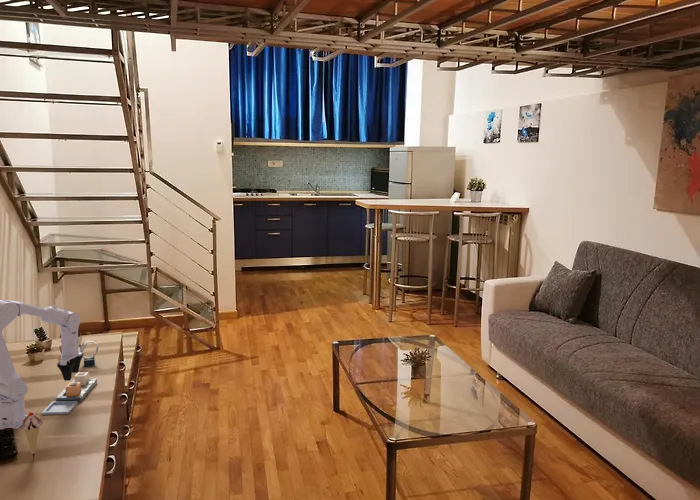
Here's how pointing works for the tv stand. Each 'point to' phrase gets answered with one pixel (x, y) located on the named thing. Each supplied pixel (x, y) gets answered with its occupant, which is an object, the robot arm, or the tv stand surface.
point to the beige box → (82, 378)
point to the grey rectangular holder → (84, 392)
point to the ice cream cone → (32, 429)
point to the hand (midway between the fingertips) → (71, 376)
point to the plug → (73, 389)
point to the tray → (59, 407)
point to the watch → (89, 360)
